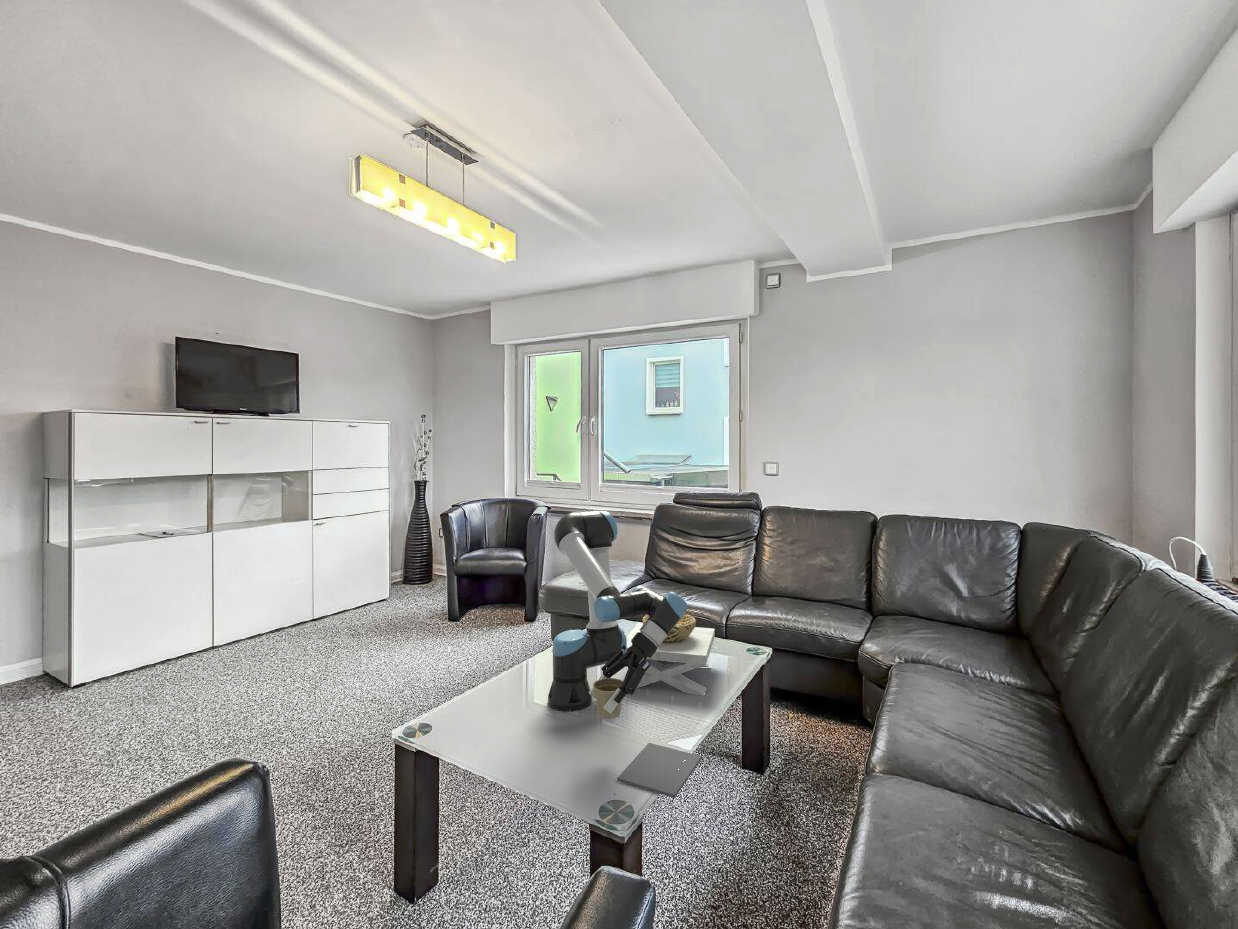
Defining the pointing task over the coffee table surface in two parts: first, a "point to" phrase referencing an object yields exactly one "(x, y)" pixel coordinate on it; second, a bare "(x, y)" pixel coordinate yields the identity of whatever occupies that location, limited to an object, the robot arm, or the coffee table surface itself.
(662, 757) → the charcoal mat
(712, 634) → the white x-leg stand
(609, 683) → the flower pot
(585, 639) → the robot arm
